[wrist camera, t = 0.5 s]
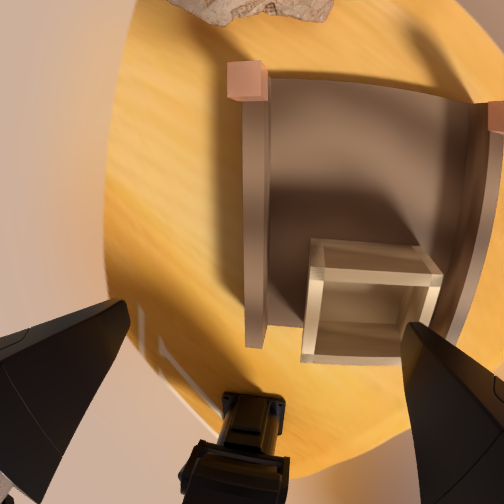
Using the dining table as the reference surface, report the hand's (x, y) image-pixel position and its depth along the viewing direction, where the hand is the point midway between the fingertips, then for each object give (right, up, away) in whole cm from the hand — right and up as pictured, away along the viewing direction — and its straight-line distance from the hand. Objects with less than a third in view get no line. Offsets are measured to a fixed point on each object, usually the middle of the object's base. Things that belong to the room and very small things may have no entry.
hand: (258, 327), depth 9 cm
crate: (+8, 0, +12) cm, 15 cm away
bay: (+8, +5, +11) cm, 14 cm away
